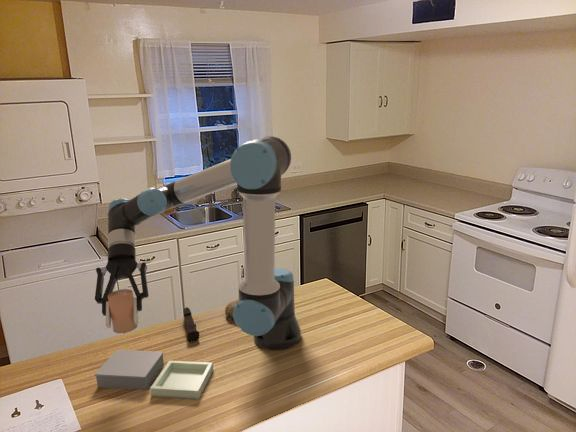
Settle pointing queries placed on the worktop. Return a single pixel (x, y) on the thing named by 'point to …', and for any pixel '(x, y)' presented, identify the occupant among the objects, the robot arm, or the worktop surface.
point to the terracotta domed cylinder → (122, 310)
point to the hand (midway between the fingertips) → (122, 324)
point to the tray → (182, 380)
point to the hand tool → (190, 326)
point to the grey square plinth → (130, 369)
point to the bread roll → (230, 310)
